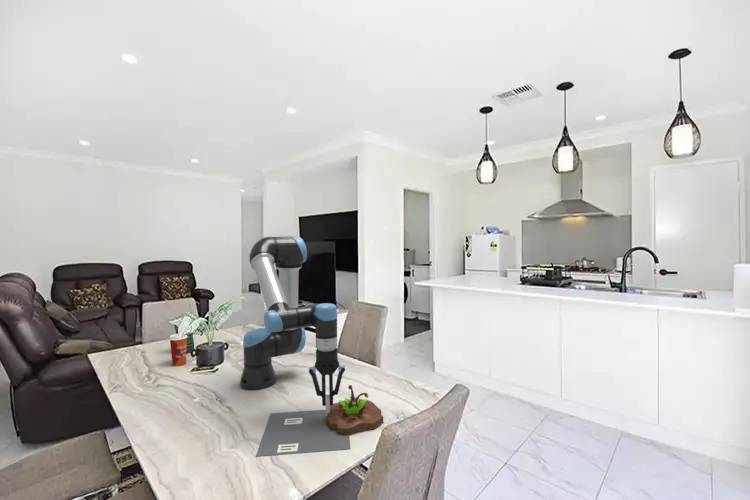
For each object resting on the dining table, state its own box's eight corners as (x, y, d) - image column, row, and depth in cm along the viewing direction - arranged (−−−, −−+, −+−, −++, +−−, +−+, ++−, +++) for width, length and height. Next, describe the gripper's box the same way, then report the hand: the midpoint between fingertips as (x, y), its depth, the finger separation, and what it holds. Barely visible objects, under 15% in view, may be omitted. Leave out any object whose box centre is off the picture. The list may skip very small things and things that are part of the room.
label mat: (255, 456, 108) (255, 456, 108) (270, 413, 134) (270, 413, 134) (350, 449, 111) (350, 448, 111) (347, 408, 137) (347, 407, 137)
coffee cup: (180, 367, 181) (179, 337, 180) (166, 366, 183) (165, 337, 182) (192, 361, 189) (191, 333, 188) (178, 360, 191) (177, 332, 190)
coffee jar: (177, 355, 199) (176, 322, 198) (173, 352, 205) (172, 319, 204) (196, 351, 205) (195, 319, 205) (192, 348, 211) (191, 316, 210)
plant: (369, 401, 142) (369, 373, 142) (389, 426, 124) (389, 394, 123) (319, 410, 135) (319, 380, 134) (332, 438, 117) (332, 404, 116)
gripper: (307, 352, 123) (308, 420, 125) (345, 350, 125) (346, 418, 126) (308, 345, 131) (309, 410, 132) (344, 344, 132) (345, 407, 133)
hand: (327, 413), depth 129 cm, fingers closed
